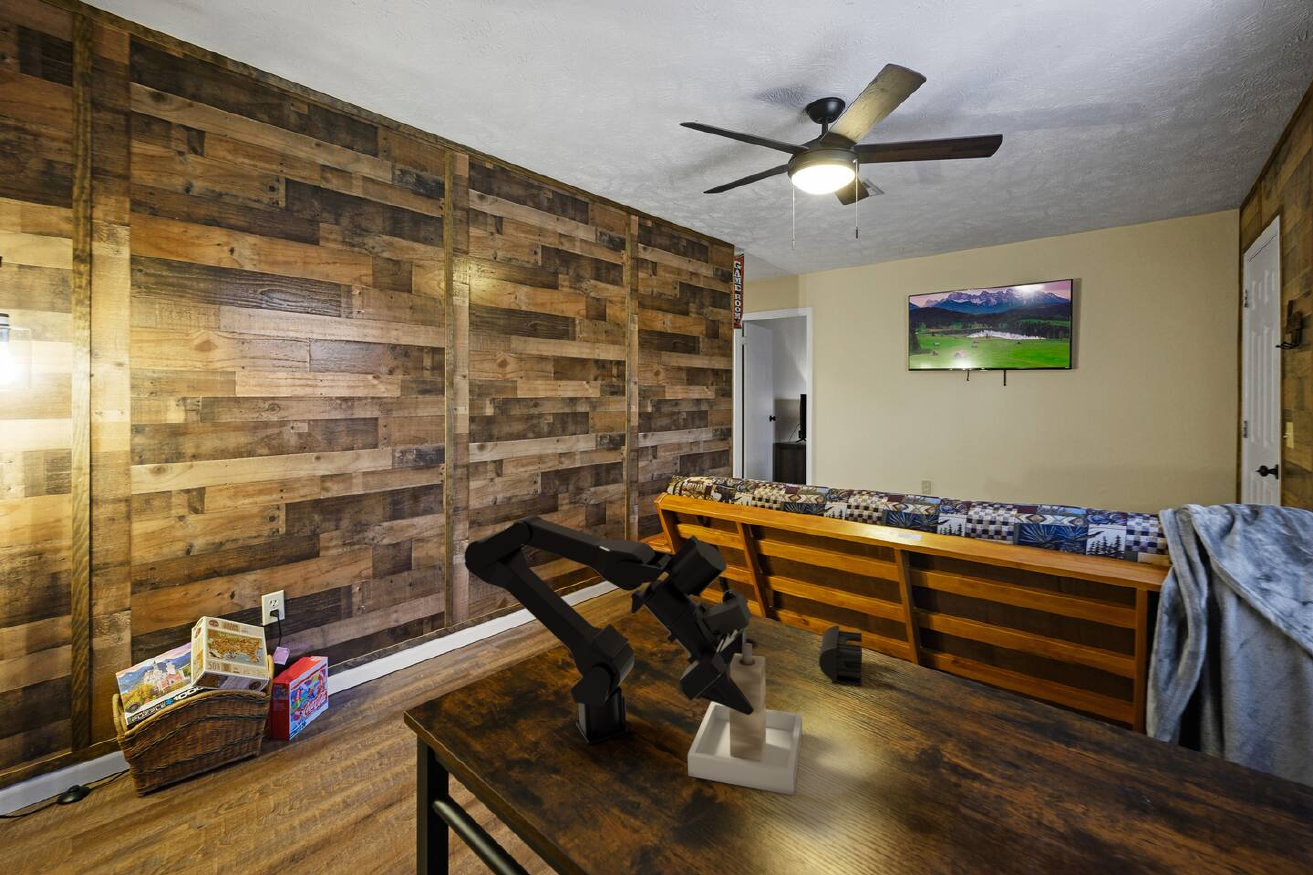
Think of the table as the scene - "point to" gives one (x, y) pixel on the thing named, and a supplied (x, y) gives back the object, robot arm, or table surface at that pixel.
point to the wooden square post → (751, 682)
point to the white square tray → (716, 763)
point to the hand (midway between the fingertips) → (756, 696)
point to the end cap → (841, 657)
